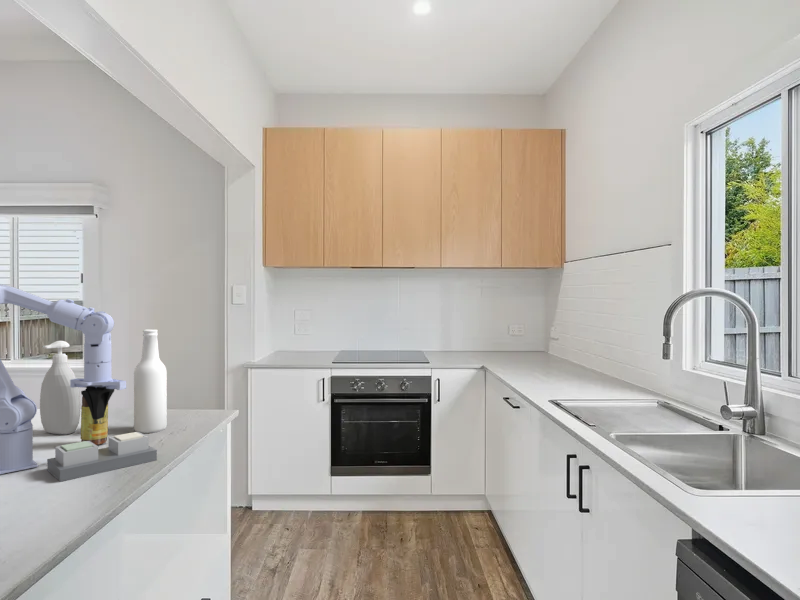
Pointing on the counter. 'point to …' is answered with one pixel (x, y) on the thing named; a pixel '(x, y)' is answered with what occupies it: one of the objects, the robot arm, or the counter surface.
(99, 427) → the sauce bottle
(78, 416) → the soap bottle
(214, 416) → the counter surface
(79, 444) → the sage key
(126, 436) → the cream key
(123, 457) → the key console
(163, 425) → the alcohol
